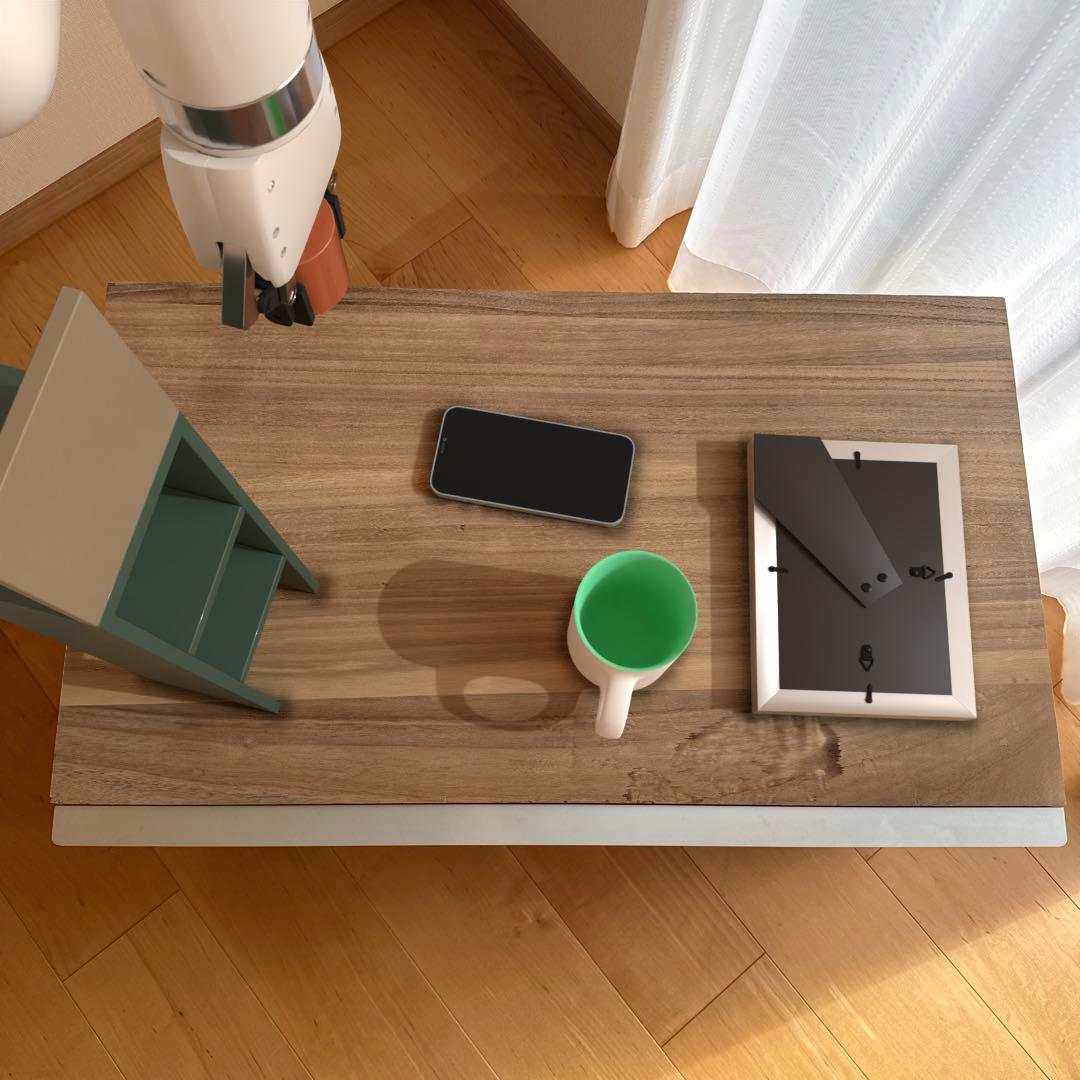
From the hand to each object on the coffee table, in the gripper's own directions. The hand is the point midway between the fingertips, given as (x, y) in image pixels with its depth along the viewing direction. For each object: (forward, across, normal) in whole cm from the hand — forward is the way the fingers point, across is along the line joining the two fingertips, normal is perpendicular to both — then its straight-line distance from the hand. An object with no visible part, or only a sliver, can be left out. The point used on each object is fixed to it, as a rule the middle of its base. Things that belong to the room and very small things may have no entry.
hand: (303, 271), depth 64 cm
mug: (+22, +14, +25) cm, 36 cm away
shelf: (+22, +19, -3) cm, 29 cm away
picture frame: (+22, +3, +40) cm, 46 cm away
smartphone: (+22, +1, +15) cm, 27 cm away
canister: (+1, 0, 0) cm, 1 cm away
